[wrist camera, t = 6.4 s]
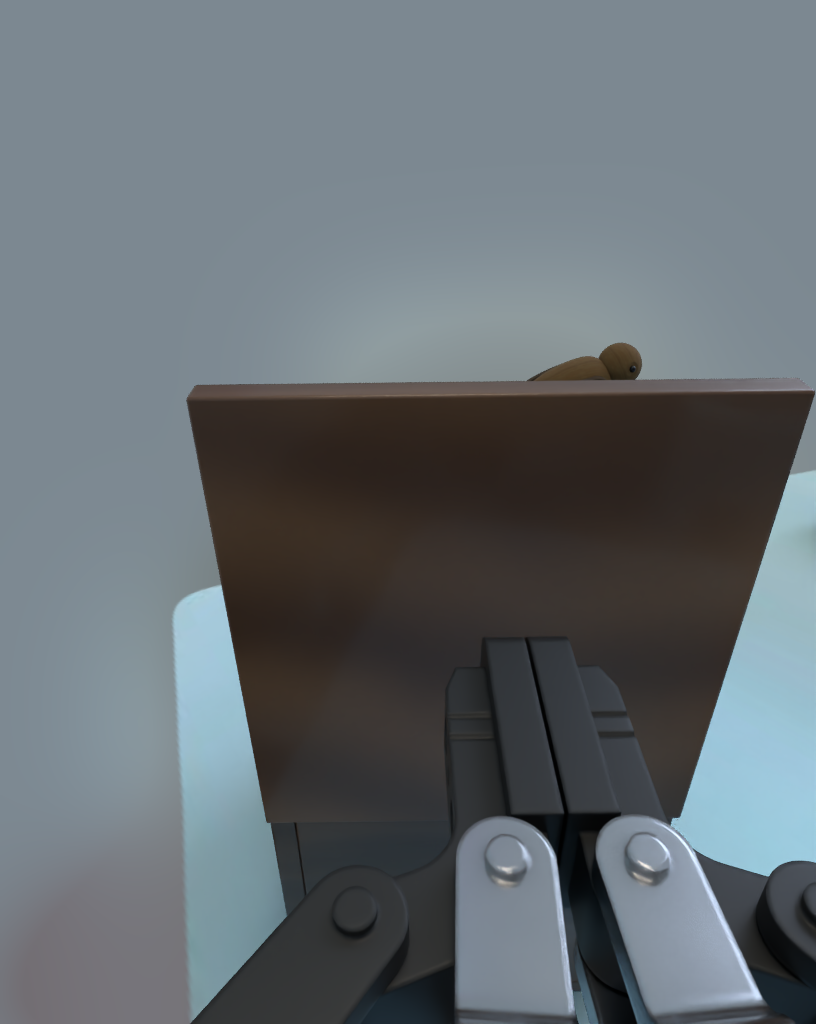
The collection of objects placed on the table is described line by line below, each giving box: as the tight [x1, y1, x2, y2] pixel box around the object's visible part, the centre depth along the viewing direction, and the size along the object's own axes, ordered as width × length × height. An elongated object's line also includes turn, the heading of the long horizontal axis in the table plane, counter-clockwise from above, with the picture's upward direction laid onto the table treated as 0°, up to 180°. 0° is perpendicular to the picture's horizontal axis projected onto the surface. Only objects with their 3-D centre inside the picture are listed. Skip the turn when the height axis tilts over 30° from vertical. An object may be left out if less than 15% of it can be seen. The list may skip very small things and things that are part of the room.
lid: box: [186, 378, 815, 823], centre depth 19 cm, size 14×13×1 cm
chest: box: [271, 818, 672, 991], centre depth 31 cm, size 14×13×11 cm
